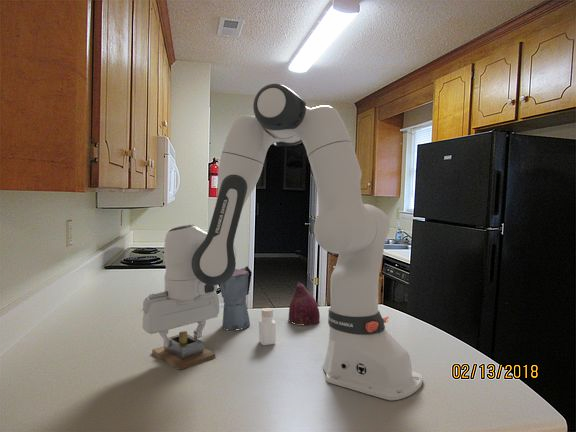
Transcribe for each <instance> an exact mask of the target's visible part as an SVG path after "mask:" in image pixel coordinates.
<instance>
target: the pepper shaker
mask: <svg viewBox="0 0 576 432" xmlns="http://www.w3.org/2000/svg"><path fill="white" fill-rule="evenodd" d="M273 316H274V310H273V308H271V307H265V308H262V309H261V319H260V320H258V341H259V343H260V342H261V343H260V344H261V345H262V346H268V345H269V346H270V345H275V344H276V341H277V340H276V338H277V337H276V335H277V333H276V324H277V323H276V321H275V320H274V317H273Z"/></svg>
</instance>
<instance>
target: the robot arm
mask: <svg viewBox="0 0 576 432" xmlns="http://www.w3.org/2000/svg"><path fill="white" fill-rule="evenodd" d="M252 107H253V113H254V115H252V114H251V115H248V114H246V115H239V116H238V117H237V118H235V119H234V120H233V122H232V124H231V126H230V129H229V131H228V132H227V136H226V138H225V141H224V144H223V147H222V152H221V155H220V157H219V158H220V159H219V165H218V172H217V195H216V196H217V197H216V201H215V202H216V203H215V206H214V209H213V213H212V217H211V220H210V224H209V227H208V230H207V231H204V230H202V229H200V228H199V227H198V226H197V225H195V224H186V225H181V226H177V227H173V228H171V229H170V230H168V231H167V233H166V235H165V239H164V247H163V248H164V249H163V262H164V265H165V273H164V278H163V279H164V291H161V292H158V293H152V294H149V295H148V296H147V297H146V298H145V299H144V300H143V302H142V310H143V315H142V330H144V331H145V332H146V333H148V334H150V335H154V334H157V333H159V336H160V337H161V338H162V340H163V346H165V347H170V346H172V339H170V338H169V337H168V334H169V330H173V329H176V328H180V327H184V326H188V325H192V324H196V323H197V326H196V329H195V330H194V329H193V337H194V338H196V339H200V338H202V337H203V331H204V328H205V327H206V324H207V322H206V321H207V320H211V319H215V318H217V317H218V315H220V299H219V298H220V297H219V295H218V293H217V291H218V285H219V286H220V284H222V283H224V282H226V281H227V280H229V279H230V278H231V276H232V275H233V273H234V271H235V269H236V267H237V266H236V265H237V263H236V262H237V261H236V260H237V250H236V247H235V246H234V245H235V238H236V235H237V234H236V233H237V230H238V227H239V221H240V218H241V215H242V212H243V211H242V210H243V209H244V206H245V204H246V202H247V200H248V199H249V197H250V196H251V195H252V193H253V191H254V190H255V188H256V186H257V183H258V181H259V180H260V177H261V174H262V171H263V167H264V164H265V159H266V156H267V153H268V151H269V148H270V146H271V145H273V146H274V147H285V146H297V145H300V144H301V143H302V144H303V146H304V148H305V151H306V156H307V158H308V162H309V164H310V165H309V166H310V168H311V172H312V177H313V179H314V182H315V186H316V191H317V192H316V193H317V209H318V211H317V217H316V219H315V221H314V225H313V235H314V238H315V241H316V243H317V244H318V246H320V248H322V249H323V250H325V251H326V252H329V253H332V254H336V255H338V257H337V261H336V265H335V267H334V269H333V270H332V272H331V274H330V285H329V286H330V293H329V295H330V296H329V297H330V307H329V308H328V313H327V314H328V318H327V319H328V320H327V321H328V323H327V324H328V326H329V335H328V344H327V349H326V355H325V358H324V362H323V365H322V366H323V367H322V368H323V372H324V373H325V381H326V382H327V383H329V384H333V385H335V386H340V387H342V388H345V389H346V388H347V389H348V390H349V389H350V390H353V391H356V392H360V393H363V394H366V395H370V396H372V397H376V398H380V399H384V400H385V401H397V400H401V399H405V398H406V397H409V396H411V395H413V394H414V393H416V392H417V391H418V390H419V389H420V388H422V385H423V376H422V374H421V373H419V372H417V371H414V370H413V367H412V361H411V357H410V354H409V352H408V350H407V349H406V348H405V347H404V346H403V345H401V344H400V342H399V341H398V340H396V339H395V337H393V335H392V334H391V333H389V332H388V330H387V329H386V326H385V323H388V322H389V320H388V319H389V316H386V317H382V314H381V312H380V310H379V283H380V282H379V278H380V271H381V267H382V266H381V265H382V260H383V256H384V250H385V243H386V239H387V237H388V234H389V232H390V225H391V224H390V221H389V217H388V215H387V214H386V213H385V212H384V211H383V210H382V209H380V208H379V207H377V206H376V205H375V206H374V205H373V204H368V203H363V199H362V189H361V180H362V177H363V174H362V172H363V171H362V169H361V166H360V163H359V159H358V157H357V154H356V151H355V147H354V144H353V142H352V138H351V136H350V133H349V130H348V129H347V127H346V124H345V122H344V121H343V119H342V117H341V115H340V113H339V111H337V109H336V108H334V107H332V106H330V105H319V106H316V107H312V108H310V107H308V106H307V103H306V101H305V100H304V99H303V98H301V97H300V96H299V95H298V94H297V93H296V92H295V91H293V90H292V89H291V88H289V87H287V86H285V85H283V84H280V83H270V84H267V85H265V86H263V87H262V88H260V90H259V91H258V92H257V93H256V95H255V97H254V99H253V106H252Z"/></svg>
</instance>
